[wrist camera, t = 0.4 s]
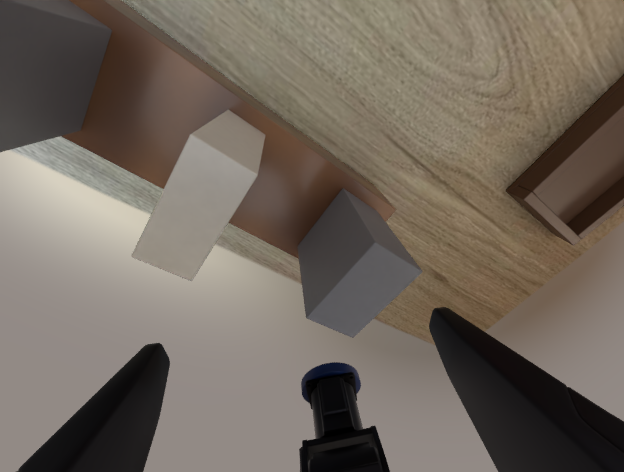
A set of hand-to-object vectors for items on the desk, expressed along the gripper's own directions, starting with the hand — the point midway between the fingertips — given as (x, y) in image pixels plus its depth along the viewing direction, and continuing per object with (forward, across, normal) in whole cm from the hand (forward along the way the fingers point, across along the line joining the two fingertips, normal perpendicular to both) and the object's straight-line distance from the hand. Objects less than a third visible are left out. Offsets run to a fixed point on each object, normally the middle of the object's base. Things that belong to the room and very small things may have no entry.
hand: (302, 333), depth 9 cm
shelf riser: (+14, +3, -3) cm, 15 cm away
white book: (+9, +3, -3) cm, 11 cm away
